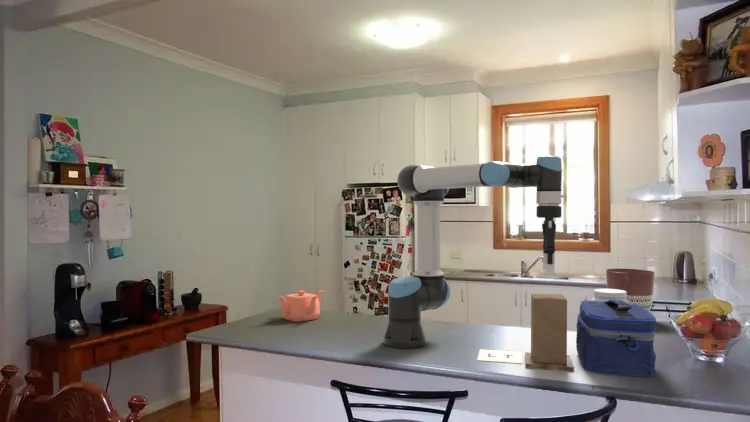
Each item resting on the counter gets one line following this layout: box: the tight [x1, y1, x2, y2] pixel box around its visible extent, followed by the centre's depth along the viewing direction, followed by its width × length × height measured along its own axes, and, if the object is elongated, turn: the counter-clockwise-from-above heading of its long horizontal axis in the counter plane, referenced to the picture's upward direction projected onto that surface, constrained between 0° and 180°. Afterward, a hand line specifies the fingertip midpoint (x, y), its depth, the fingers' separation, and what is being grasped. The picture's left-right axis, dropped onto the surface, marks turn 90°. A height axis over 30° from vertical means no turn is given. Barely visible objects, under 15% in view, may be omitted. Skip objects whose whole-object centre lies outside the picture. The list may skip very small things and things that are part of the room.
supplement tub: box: [591, 288, 629, 304], centre depth 206 cm, size 13×13×18 cm
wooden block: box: [530, 293, 568, 364], centre depth 174 cm, size 10×10×20 cm
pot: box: [276, 289, 325, 323], centre depth 242 cm, size 18×17×12 cm
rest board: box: [524, 351, 575, 372], centre depth 174 cm, size 14×14×1 cm
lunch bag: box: [575, 299, 657, 378], centre depth 173 cm, size 31×21×20 cm
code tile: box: [477, 348, 523, 365], centre depth 182 cm, size 14×14×1 cm
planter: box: [605, 268, 655, 312], centre depth 244 cm, size 20×20×21 cm
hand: (548, 272), depth 174 cm, fingers open, 13 cm apart
